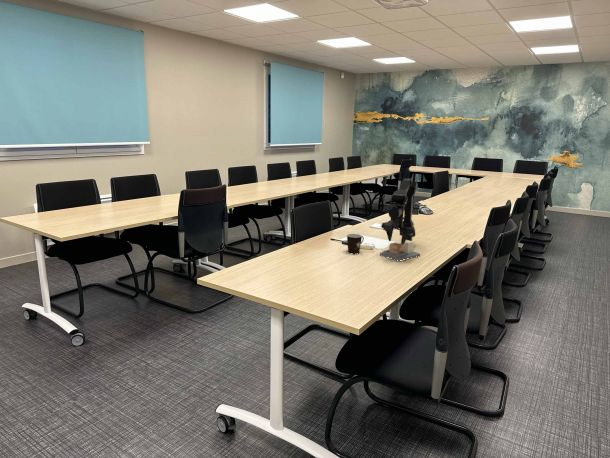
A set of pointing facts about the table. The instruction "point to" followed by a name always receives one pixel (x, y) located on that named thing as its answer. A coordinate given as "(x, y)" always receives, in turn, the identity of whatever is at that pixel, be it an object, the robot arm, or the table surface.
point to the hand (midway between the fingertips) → (396, 242)
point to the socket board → (406, 252)
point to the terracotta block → (395, 248)
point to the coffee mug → (354, 242)
